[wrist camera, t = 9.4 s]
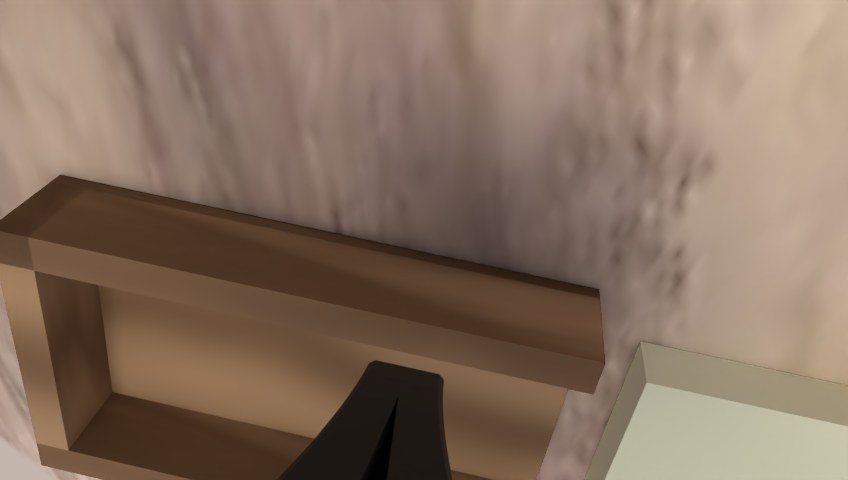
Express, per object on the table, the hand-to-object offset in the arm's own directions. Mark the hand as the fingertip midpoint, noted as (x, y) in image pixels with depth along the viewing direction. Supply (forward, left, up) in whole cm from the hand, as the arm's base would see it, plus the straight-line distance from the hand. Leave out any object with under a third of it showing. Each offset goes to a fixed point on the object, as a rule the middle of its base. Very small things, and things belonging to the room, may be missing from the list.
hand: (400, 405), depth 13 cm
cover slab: (-8, -11, -10) cm, 17 cm away
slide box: (-8, +4, -9) cm, 13 cm away
